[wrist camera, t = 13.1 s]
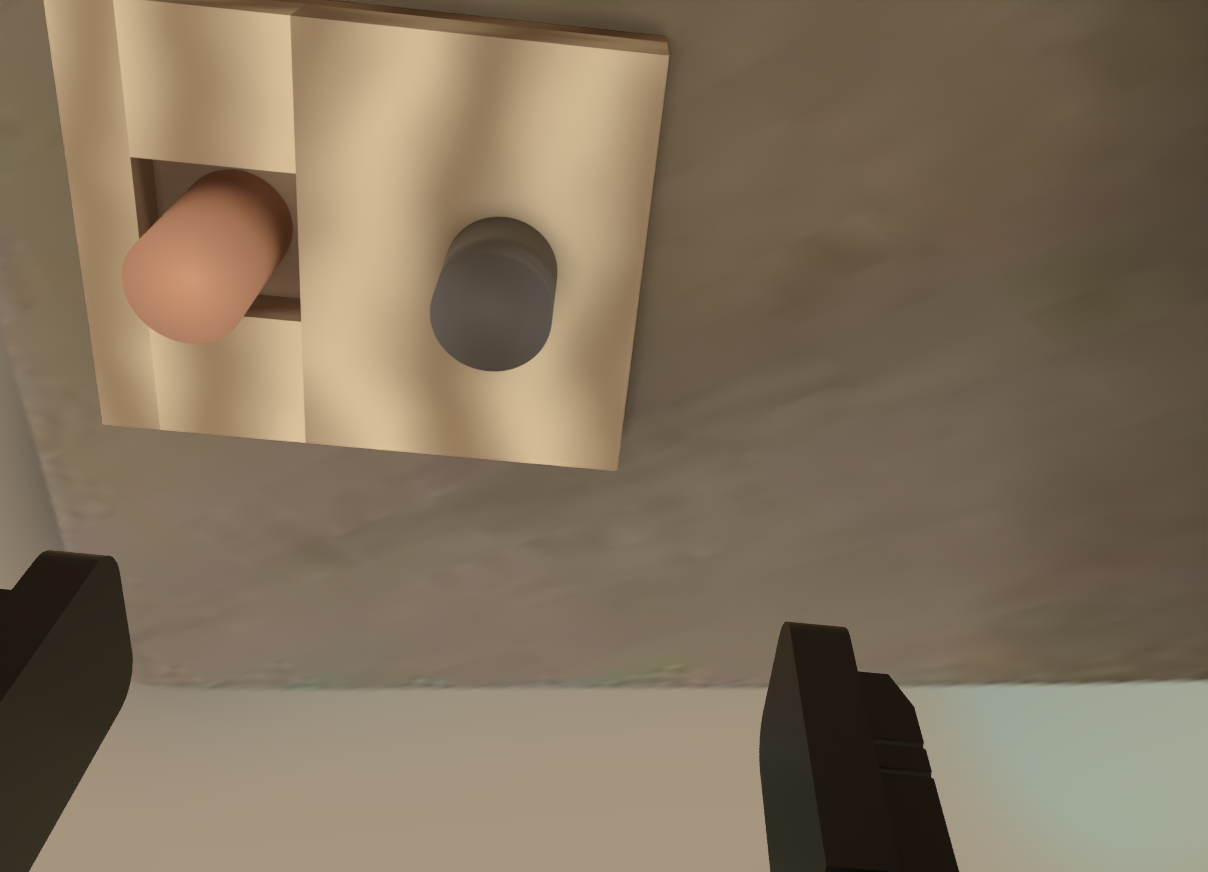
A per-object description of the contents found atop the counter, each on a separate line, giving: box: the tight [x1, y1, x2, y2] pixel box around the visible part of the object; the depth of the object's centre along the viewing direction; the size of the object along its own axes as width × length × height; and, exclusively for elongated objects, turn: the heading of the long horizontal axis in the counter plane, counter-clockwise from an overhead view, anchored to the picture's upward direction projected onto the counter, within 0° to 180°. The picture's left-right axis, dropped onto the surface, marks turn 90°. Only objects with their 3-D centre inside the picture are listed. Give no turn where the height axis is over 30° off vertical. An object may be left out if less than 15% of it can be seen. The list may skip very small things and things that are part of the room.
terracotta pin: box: [121, 169, 293, 344], centre depth 40 cm, size 4×4×6 cm
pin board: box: [44, 0, 669, 471], centre depth 41 cm, size 20×16×7 cm
